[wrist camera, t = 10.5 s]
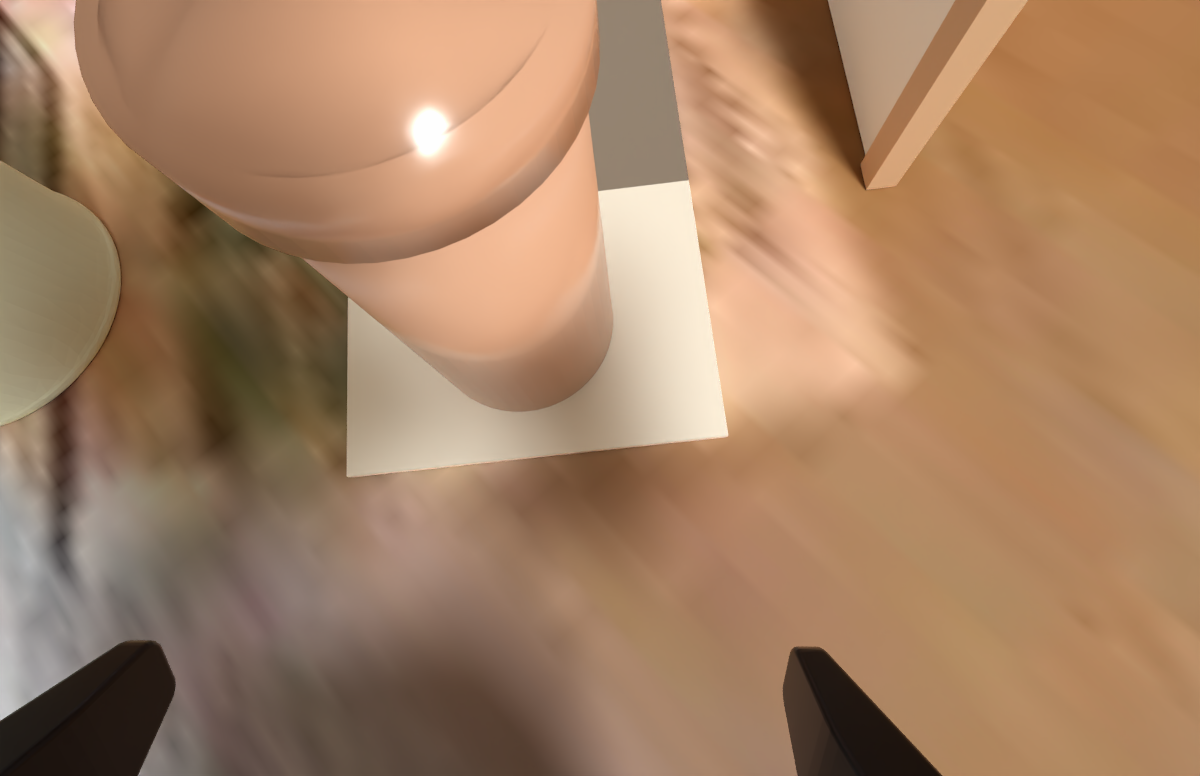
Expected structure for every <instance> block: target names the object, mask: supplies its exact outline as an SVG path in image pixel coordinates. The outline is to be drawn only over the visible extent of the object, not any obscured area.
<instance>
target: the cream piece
mask: <svg viewBox="0 0 1200 776" xmlns="http://www.w3.org/2000/svg"><path fill="white" fill-rule="evenodd" d="M1027 1H1028V0H828V3H829V7H830V11H831V15H832V20H833V24H834V28H835V32H836V36H837V40H838V44H839V48H840V53H841V57H842V61H843V65H844V69H845V73H846V77H847V81H848V86H849V90H850V94H851V98H852V102H853V106H854V110H855V114H856V119H857V123H858V127H859V131H860V135H861V139H862V143H863V147H864V152H865V157H864V159H863V160H862V162H861V164H860V166H861V170H862V174H863V178H864V183H865V187H866V190H868V189H876V188H885V187H893V186H896V185H897V183H898V182H899V181H900V179H901V178H902V176H903V175H904V174H905V172H906V171H907V169H908V168H909V167H910V165H911V164H912V162H913V161H914V160H915V158H916V157H917V155H918V154H919V153H920V151H921V150H922V148H923V147H924V146H925V144H926V143H927V141H928V140H929V139H930V137H931V136H932V134H933V133H934V131H935V130H936V129H937V127H938V126H939V124H940V123H941V122H942V120H943V119H944V117H945V116H946V115H947V113H948V112H949V110H950V109H951V108H952V106H953V105H954V103H955V102H956V101H957V99H958V98H959V96H960V95H961V94H962V92H963V91H964V89H965V88H966V87H967V85H968V84H969V82H970V81H971V79H972V78H973V77H974V75H975V74H976V72H977V71H978V70H979V68H980V67H981V65H982V64H983V63H984V61H985V60H986V58H987V57H988V56H989V54H990V53H991V51H992V50H993V49H994V47H995V46H996V44H997V43H998V42H999V40H1000V39H1001V37H1002V36H1003V35H1004V33H1005V32H1006V30H1007V29H1008V28H1009V26H1010V25H1011V23H1012V22H1013V20H1014V19H1015V18H1016V16H1017V15H1018V13H1019V12H1020V11H1021V9H1022V8H1023V6H1024V5H1025V4H1026V2H1027ZM597 8H598V20H599V33H600V66H599V73H598V79H597V86H596V90H595V93H594V97H593V100H592V103H591V106H590V110H589V120H590V129H591V137H592V145H593V153H594V161H595V170H596V178H597V186H598V194H599V203H600V211H601V219H602V227H603V236H604V244H605V252H606V260H607V269H608V277H609V285H610V293H611V301H612V310H613V331H612V338H611V342H610V346H609V349H608V351H607V354H606V356H605V359H604V361H603V362H602V364H601V366H600V367H599V369H598V371H597V372H596V373H595V374H594V376H593V377H592V378H591V379H590V380H589V381H588V382H587V383H586V384H585V385H584V386H583V387H582V388H581V389H580V390H579V391H577V392H576V393H575V394H573V395H572V396H570V397H569V398H567V399H565V400H563V401H562V402H559V403H557V404H555V405H552V406H550V407H546V408H543V409H539V410H533V411H526V412H511V411H503V410H498V409H494V408H490V407H488V406H485V405H483V404H480V403H478V402H476V401H475V400H473V399H471V398H469V397H468V396H467V395H465V394H464V393H463V392H461V391H460V390H459V389H458V388H456V387H455V386H454V385H453V384H452V383H450V382H449V381H448V380H447V379H446V378H445V377H443V376H442V375H441V374H440V373H439V372H437V371H436V370H435V369H434V368H433V367H431V366H430V365H429V364H428V363H427V362H425V361H424V360H423V359H422V358H421V357H419V356H418V355H417V354H416V353H415V352H413V351H412V350H411V349H410V348H409V347H407V346H406V345H405V344H404V343H403V342H401V341H400V340H399V339H398V338H397V337H395V336H394V335H393V334H392V333H391V332H390V331H388V330H387V329H386V328H385V327H384V326H382V325H381V324H380V323H379V322H378V321H376V320H375V319H374V318H373V317H372V316H370V315H369V314H368V313H367V312H366V311H364V310H363V309H362V308H361V307H360V306H358V305H357V304H356V303H355V302H354V301H352V300H351V299H350V298H349V297H348V360H347V477H351V478H352V477H361V476H370V475H379V474H389V473H398V472H407V471H417V470H426V469H435V468H445V467H454V466H463V465H472V464H482V463H491V462H500V461H510V460H519V459H528V458H537V457H547V456H556V455H565V454H575V453H584V452H593V451H603V450H612V449H621V448H630V447H640V446H649V445H658V444H668V443H677V442H686V441H696V440H705V439H714V438H723V437H727V436H728V431H727V424H726V418H725V412H724V405H723V399H722V392H721V386H720V379H719V373H718V366H717V360H716V353H715V347H714V341H713V334H712V328H711V321H710V315H709V308H708V302H707V295H706V289H705V282H704V276H703V270H702V263H701V257H700V250H699V244H698V237H697V231H696V224H695V218H694V211H693V205H692V199H691V192H690V186H689V179H688V173H687V166H686V160H685V153H684V147H683V140H682V134H681V128H680V121H679V115H678V108H677V102H676V95H675V89H674V82H673V76H672V70H671V63H670V57H669V50H668V44H667V37H666V31H665V24H664V18H663V11H662V5H661V0H597Z"/></svg>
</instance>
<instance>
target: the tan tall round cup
mask: <svg viewBox="0 0 1200 776" xmlns="http://www.w3.org/2000/svg"><path fill="white" fill-rule="evenodd" d="M74 31H75V47H76V53H77V57H78V61H79V66H80V70H81V74H82V77H83V80H84V82H85V84H86V87H87V89H88V92H89V94H90V96H91V99H92V101H93V103H94V104H95V106H96V107H97V109H98V110H99V112H100V113H101V115H102V117H103V118H104V120H105V121H106V123H107V124H108V125H109V127H110V128H111V129H112V130H113V131H114V132H115V133H116V134H117V135H118V136H119V137H120V138H121V140H122V141H123V142H124V143H125V144H126V145H127V146H128V147H129V148H131V149H132V150H133V151H135V152H136V153H137V154H138V155H140V156H141V157H142V158H144V159H145V160H146V161H147V162H149V163H150V164H151V165H153V166H154V167H155V168H157V169H158V170H159V171H160V172H162V173H163V174H164V175H166V176H167V177H168V178H169V179H171V180H172V181H173V182H175V183H176V184H177V185H179V186H180V187H181V188H182V189H184V190H185V191H186V192H188V193H189V194H190V195H192V196H193V197H194V198H195V199H197V200H198V201H199V202H201V203H202V204H203V205H205V206H206V207H207V208H208V209H210V210H211V211H212V212H214V213H215V214H216V215H218V216H219V217H220V218H221V219H223V220H224V221H225V222H227V223H228V224H229V225H230V226H232V227H233V228H234V229H236V230H237V231H238V232H240V233H242V234H244V235H245V236H247V237H249V238H251V239H253V240H254V241H256V242H258V243H260V244H262V245H264V246H267V247H269V248H272V249H274V250H277V251H280V252H282V253H285V254H288V255H292V256H296V257H300V258H302V259H303V260H305V261H306V262H307V263H308V264H309V265H311V266H312V267H313V268H314V269H315V270H317V271H318V272H319V273H320V274H321V275H323V276H324V277H325V278H326V279H327V280H329V281H330V282H331V283H332V284H333V285H334V286H336V287H337V288H338V289H339V290H340V291H342V292H343V293H344V294H345V295H346V296H348V297H349V298H350V299H351V300H352V301H354V302H355V303H356V304H357V305H358V306H360V307H361V308H362V309H363V310H364V311H366V312H367V313H368V314H369V315H370V316H372V317H373V318H374V319H375V320H376V321H378V322H379V323H380V324H381V325H382V326H384V327H385V328H386V329H387V330H388V331H390V332H391V333H392V334H393V335H394V336H395V337H397V338H398V339H399V340H400V341H401V342H403V343H404V344H405V345H406V346H407V347H409V348H410V349H411V350H412V351H413V352H415V353H416V354H417V355H418V356H419V357H421V358H422V359H423V360H424V361H425V362H427V363H428V364H429V365H430V366H431V367H433V368H434V369H435V370H436V371H437V372H439V373H440V374H441V375H442V376H443V377H445V378H446V379H447V380H448V381H449V382H450V383H452V384H453V385H454V386H455V387H456V388H458V389H459V390H460V391H461V392H463V393H464V394H465V395H467V396H468V397H469V398H471V399H473V400H475V401H476V402H478V403H480V404H483V405H485V406H488V407H490V408H494V409H498V410H503V411H511V412H526V411H533V410H539V409H543V408H546V407H550V406H552V405H555V404H557V403H559V402H562V401H563V400H565V399H567V398H569V397H570V396H572V395H573V394H575V393H576V392H577V391H579V390H580V389H581V388H582V387H583V386H584V385H585V384H586V383H587V382H588V381H589V380H590V379H591V378H592V377H593V376H594V374H595V373H596V372H597V371H598V369H599V367H600V366H601V364H602V362H603V361H604V359H605V356H606V354H607V351H608V349H609V346H610V342H611V338H612V331H613V310H612V301H611V293H610V285H609V277H608V269H607V260H606V252H605V244H604V236H603V227H602V219H601V211H600V203H599V194H598V186H597V178H596V170H595V161H594V153H593V145H592V137H591V129H590V120H589V110H590V106H591V103H592V100H593V97H594V93H595V90H596V86H597V79H598V73H599V66H600V33H599V20H598V8H597V0H76V6H75V16H74Z"/></svg>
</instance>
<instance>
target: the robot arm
mask: <svg viewBox="0 0 1200 776" xmlns="http://www.w3.org/2000/svg"><path fill="white" fill-rule="evenodd" d="M174 692H175V677H174V675H173V672H172V670H171V668H170V665H169V663H168V661H167V658H166V656H165V654H164V651H163V649H162V647H161V645H160V644H159V643H157V642H156V641H151V640H130V641H125V642H123V643H120V644H119V645H117V646H115V647H114V648H112V649H111V650H109V651H107V652H106V653H104V654H103V655H101V656H100V657H98V658H97V659H95V660H94V661H92V662H90V663H89V664H87V665H86V666H84V667H83V668H81V669H80V670H78V671H77V672H75V673H73V674H72V675H70V676H69V677H67V678H66V679H64V680H63V681H61V682H60V683H58V684H56V685H55V686H53V687H52V688H50V689H49V690H47V691H46V692H44V693H43V694H41V695H39V696H38V697H36V698H35V699H33V700H32V701H30V702H29V703H27V704H26V705H24V706H22V707H21V708H19V709H18V710H16V711H15V712H13V713H12V714H10V715H9V716H7V717H5V718H4V719H2V720H1V721H0V776H138V774H139V772H140V769H141V767H142V765H143V763H144V761H145V758H146V756H147V754H148V752H149V749H150V747H151V745H152V743H153V741H154V738H155V736H156V734H157V732H158V729H159V727H160V725H161V723H162V721H163V718H164V716H165V714H166V712H167V709H168V707H169V705H170V703H171V701H172V698H173V695H174ZM783 700H784V706H785V712H786V717H787V722H788V727H789V733H790V738H791V743H792V749H793V754H794V759H795V765H796V770H797V775H798V776H942V775H941V774H940V773H939V772H938V771H937V769H936V768H935V767H934V766H933V765H932V764H931V763H930V762H929V761H928V760H927V759H926V758H925V757H924V756H923V755H922V753H921V752H920V751H919V750H918V749H917V748H916V747H915V746H914V745H913V744H912V743H911V742H910V741H909V740H908V739H907V737H906V736H905V735H904V734H903V733H902V732H901V731H900V730H899V729H898V728H897V727H896V726H895V725H894V724H893V722H892V721H891V720H890V719H889V718H888V717H887V716H886V715H885V714H884V713H883V712H882V711H881V710H880V709H879V708H878V706H877V705H876V704H875V703H874V702H873V701H872V700H871V699H870V698H869V697H868V696H867V695H866V694H865V693H864V692H863V690H862V689H861V688H860V687H859V686H858V685H857V684H856V683H855V682H854V681H853V680H852V679H851V678H850V677H849V676H848V674H847V673H846V672H845V671H844V670H843V669H842V668H841V667H840V666H839V665H838V664H837V663H836V662H835V661H834V659H833V658H832V657H831V656H830V655H829V654H828V653H827V652H826V651H825V650H823V649H822V648H820V647H794V648H793V649H792V650H791V652H790V656H789V660H788V665H787V670H786V674H785V679H784V684H783Z"/></svg>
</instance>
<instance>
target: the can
mask: <svg viewBox="0 0 1200 776" xmlns="http://www.w3.org/2000/svg"><path fill="white" fill-rule="evenodd" d="M120 289H121V270H120V262H119V257H118V253H117V249H116V247H115V245H114V242H113V240H112V237H111V236H110V234H109V232H108V230H107V229H106V227H105V226H104V225H103V223H102V222H101V221H100V220H99V218H98V217H96V216H95V215H94V214H93V213H92V212H91V211H90V210H89V209H87V208H86V207H85V206H83V205H82V204H81V203H79V202H77V201H76V200H74V199H71V198H69V197H67V196H65V195H63V194H60V193H57V192H54V191H52V190H50V189H48V188H47V187H45V186H43V185H41V184H40V183H38V182H36V181H34V180H33V179H31V178H29V177H27V176H26V175H24V174H22V173H21V172H19V171H17V170H16V169H14V168H12V167H11V166H9V165H7V164H6V163H4V162H2V161H1V160H0V426H2V425H6V424H8V423H11V422H14V421H16V420H18V419H20V418H23V417H25V416H27V415H29V414H31V413H33V412H34V411H36V410H38V409H39V408H41V407H42V406H44V405H46V404H47V403H49V402H50V401H52V400H53V399H54V398H55V397H57V396H58V395H59V394H61V393H62V392H63V391H64V390H65V389H67V388H68V387H69V386H70V385H71V384H72V383H73V382H74V381H75V380H76V379H77V378H78V376H79V375H80V374H81V373H82V372H83V371H84V370H85V369H86V367H87V366H88V365H89V363H90V362H91V361H92V359H93V358H94V357H95V355H96V354H97V352H98V351H99V349H100V348H101V346H102V344H103V342H104V340H105V338H106V336H107V334H108V332H109V330H110V327H111V325H112V322H113V320H114V317H115V314H116V310H117V306H118V302H119V296H120Z"/></svg>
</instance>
